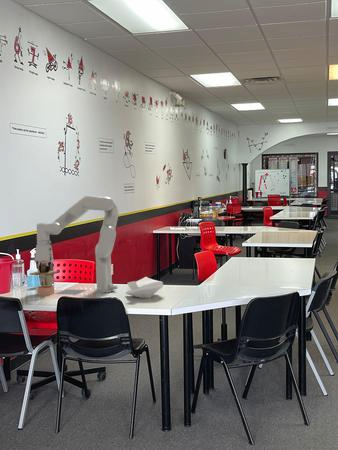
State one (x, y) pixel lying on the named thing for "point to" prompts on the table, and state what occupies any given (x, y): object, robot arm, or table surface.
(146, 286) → the paper
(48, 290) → the bowl
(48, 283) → the coffee box
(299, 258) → the table surface
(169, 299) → the table surface
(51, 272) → the lid
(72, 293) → the mat
